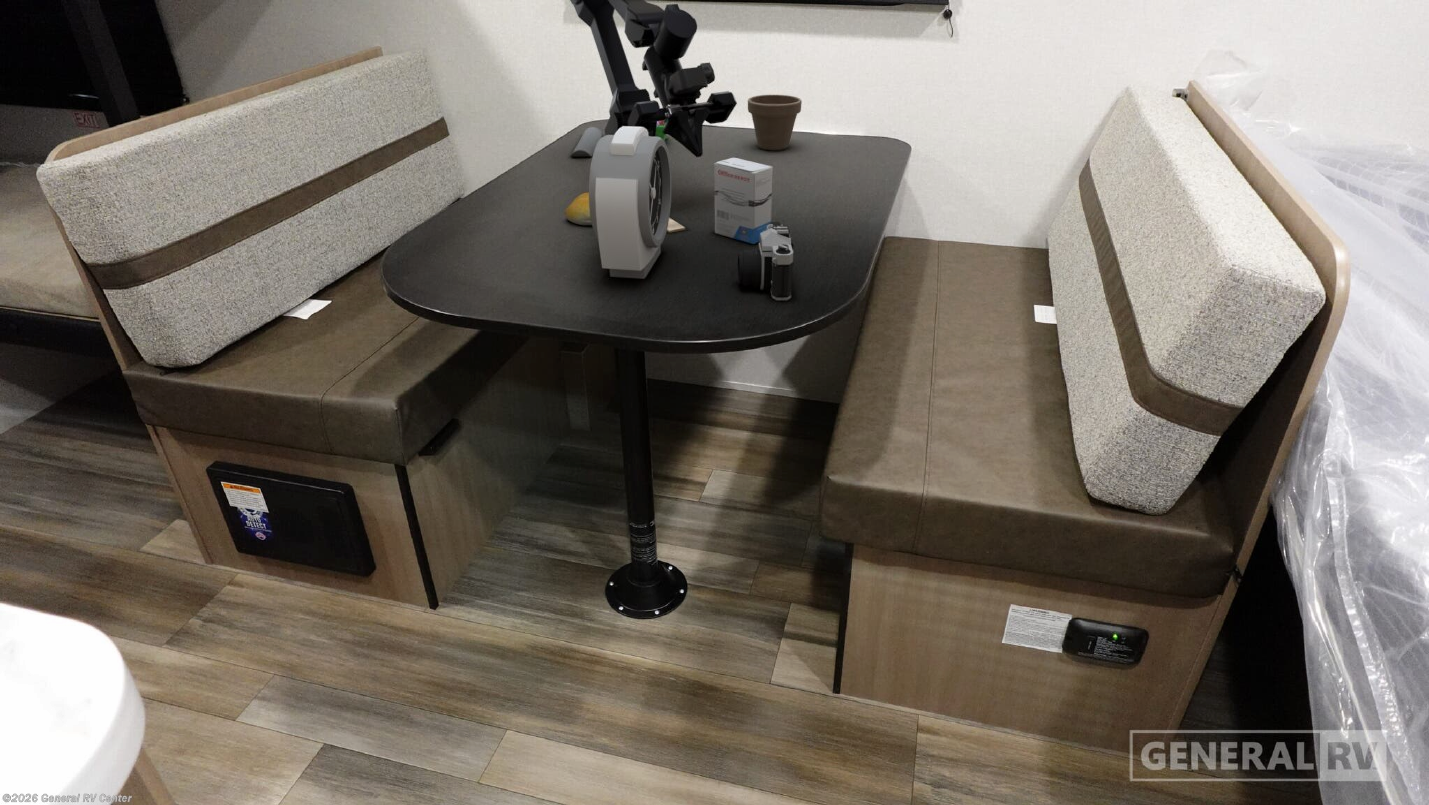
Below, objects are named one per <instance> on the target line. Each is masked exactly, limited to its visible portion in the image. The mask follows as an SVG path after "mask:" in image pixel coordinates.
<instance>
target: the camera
mask: <svg viewBox="0 0 1429 805" xmlns="http://www.w3.org/2000/svg"><path fill="white" fill-rule="evenodd" d="M790 233H791V231H790V229H789V227H788V226H786V225H785V224H782V223H781V222H779V221H771V223H770V224H769V225H768V226H767V229H765V231H764V232H762V233H760V242H758V248H753V249H752V250H748V249H743V250H742V252H738V254H737V281H738V284H739V285H740V284H742V286H743V287H748V286H754V287H756V288H758V287H759V288H760V291H770V294H771V298H772V299H773V300H775V301H788V300H790V299H791V298H792V293H793V292H792V288H793V286H792V285H793V267H794V266H793V265H794V244H795V243H794V240H793V238H792V237H791V236H790Z"/></svg>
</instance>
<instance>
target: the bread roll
mask: <svg viewBox="0 0 1429 805" xmlns="http://www.w3.org/2000/svg"><path fill="white" fill-rule="evenodd" d="M565 217H566V219H567V220H568V221H569V222H571V223H573V224H576V225H579V226H580V225H581V226H592V222H591V217H590V209H589V191H588V192H587V191H586V192H584V193H581V194H579V195H578V196H577V197H576V198H575V199H574V200H573V201H572V202H571V203H570V205H568V207H567V208H566V210H565Z"/></svg>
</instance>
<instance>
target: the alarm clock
mask: <svg viewBox="0 0 1429 805" xmlns="http://www.w3.org/2000/svg"><path fill="white" fill-rule="evenodd" d="M588 178H589V179H588V192H589V209H590V217H591V222H592V225H591V226H592V230H593V233H594V236H595V238H596V240H597V241H598V247H599V248H598V249H599V256H600V262H601V268H602V269H607V270H608V269H609V277H611V278H612V277H613V278H628V279H643V280H645V279H646V277H647V276H648V274H649V272H650V271H651V269H652V268H653V266H654V264H655V263H656V261H657V260H658V258H659V256H660V255H661V253H662V248H661V245H662V244H663V242H664V240H665V238H666V235H667V228H668V222H669V218H670V216H671V215H670V214H671V206H672V186H673V185H672V184H673V183H672V182H673V181H672V164H671V157H670V152H669V149H668V145H667V143H666V140H665V141H664V140H663V139H661V138H660V137H650V136H648V131H647V129H645V128H644V127H632V126H622V127H621V128H619V129H618V131H617V132H616V133H615V135H606V136H605V135H604V136H601V138H600V140H599V141H598V143H597V145H596V147H595V150H594V152H593V154H592V158H591V162H590V168H589V176H588Z"/></svg>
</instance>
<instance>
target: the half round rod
mask: <svg viewBox="0 0 1429 805" xmlns="http://www.w3.org/2000/svg"><path fill="white" fill-rule="evenodd" d="M602 135H603V134H602V130H600V129H599V128H598V127H595V126H589V127H587V128H586V129H585V131H583V133H582V135H581V137H580V139H579V141H578V142H577V144H576V147H575V148H574V150H573V152H572V153H571V157H576V158H577V157H581V158H583V157H593V153H594V150H595V147H596V145H597V143H598V141H599V140H600V138H601V137H603V136H602Z"/></svg>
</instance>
